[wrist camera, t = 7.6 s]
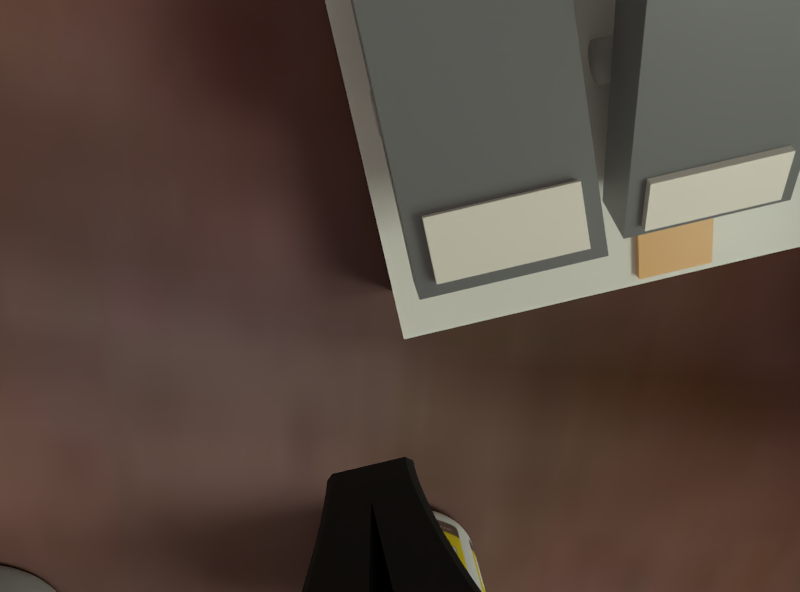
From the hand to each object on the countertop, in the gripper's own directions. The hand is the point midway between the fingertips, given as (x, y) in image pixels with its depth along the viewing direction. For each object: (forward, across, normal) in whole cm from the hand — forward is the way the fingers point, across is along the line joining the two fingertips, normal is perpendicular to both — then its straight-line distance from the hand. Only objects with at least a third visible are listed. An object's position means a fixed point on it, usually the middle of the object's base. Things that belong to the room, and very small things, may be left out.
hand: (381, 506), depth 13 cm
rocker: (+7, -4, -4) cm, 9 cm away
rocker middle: (+7, -8, -4) cm, 12 cm away
